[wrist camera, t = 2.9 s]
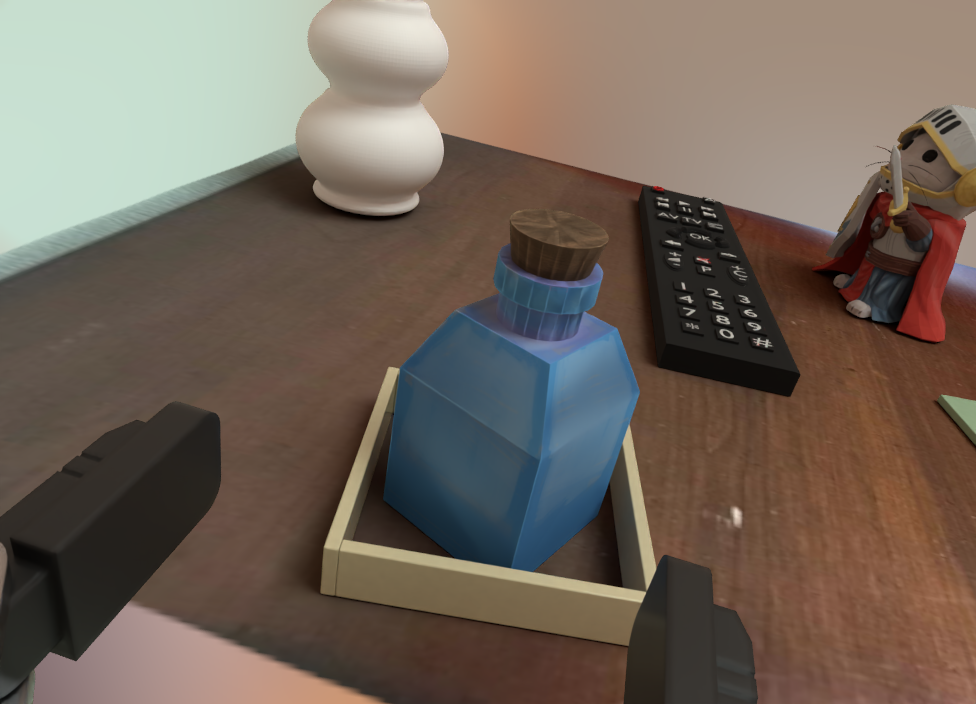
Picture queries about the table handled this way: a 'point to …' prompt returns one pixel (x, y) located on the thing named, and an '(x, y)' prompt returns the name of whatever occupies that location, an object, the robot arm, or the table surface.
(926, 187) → the figurine
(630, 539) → the holder
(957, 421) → the mat
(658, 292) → the remote control
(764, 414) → the table surface
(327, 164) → the vase
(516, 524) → the perfume bottle
